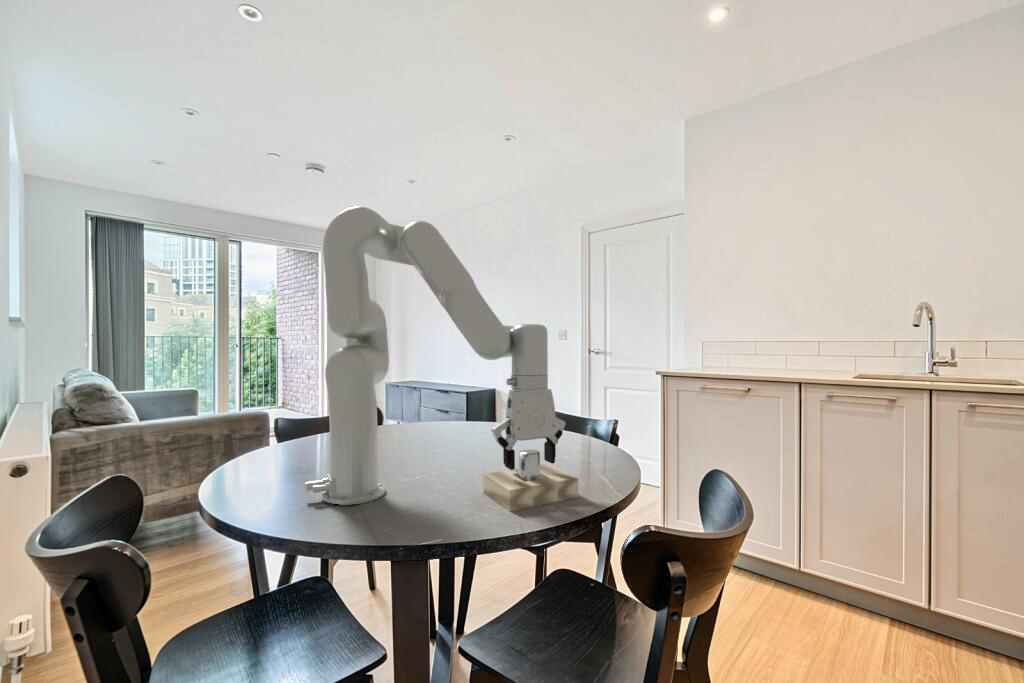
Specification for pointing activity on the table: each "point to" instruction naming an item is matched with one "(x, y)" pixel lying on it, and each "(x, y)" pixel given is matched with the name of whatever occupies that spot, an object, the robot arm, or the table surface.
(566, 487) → the jig
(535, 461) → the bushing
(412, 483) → the table surface
